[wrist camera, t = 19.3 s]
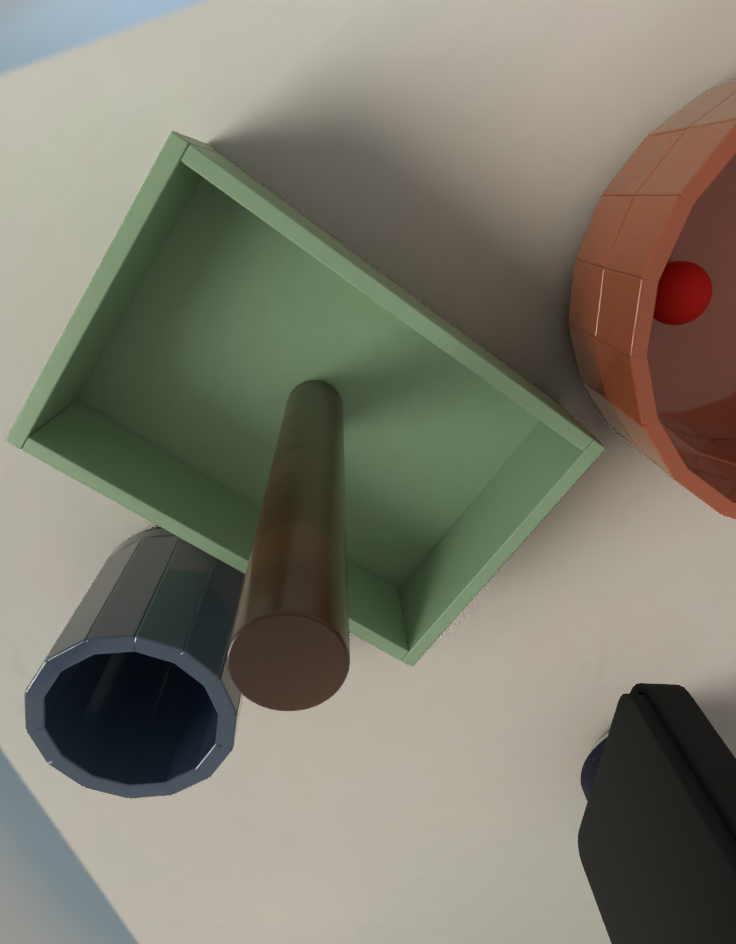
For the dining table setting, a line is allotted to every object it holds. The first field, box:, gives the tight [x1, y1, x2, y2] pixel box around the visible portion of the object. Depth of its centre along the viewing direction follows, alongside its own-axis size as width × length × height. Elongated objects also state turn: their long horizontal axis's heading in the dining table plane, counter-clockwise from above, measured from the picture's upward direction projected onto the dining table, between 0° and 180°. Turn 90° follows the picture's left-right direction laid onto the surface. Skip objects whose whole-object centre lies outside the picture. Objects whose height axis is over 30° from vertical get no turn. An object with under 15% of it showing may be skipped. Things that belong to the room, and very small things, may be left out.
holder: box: [25, 528, 245, 798], centre depth 24 cm, size 6×6×7 cm
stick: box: [226, 380, 350, 711], centre depth 17 cm, size 2×2×14 cm
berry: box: [653, 261, 712, 325], centre depth 21 cm, size 2×2×2 cm
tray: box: [6, 131, 605, 667], centre depth 22 cm, size 15×10×4 cm, turn 55°
